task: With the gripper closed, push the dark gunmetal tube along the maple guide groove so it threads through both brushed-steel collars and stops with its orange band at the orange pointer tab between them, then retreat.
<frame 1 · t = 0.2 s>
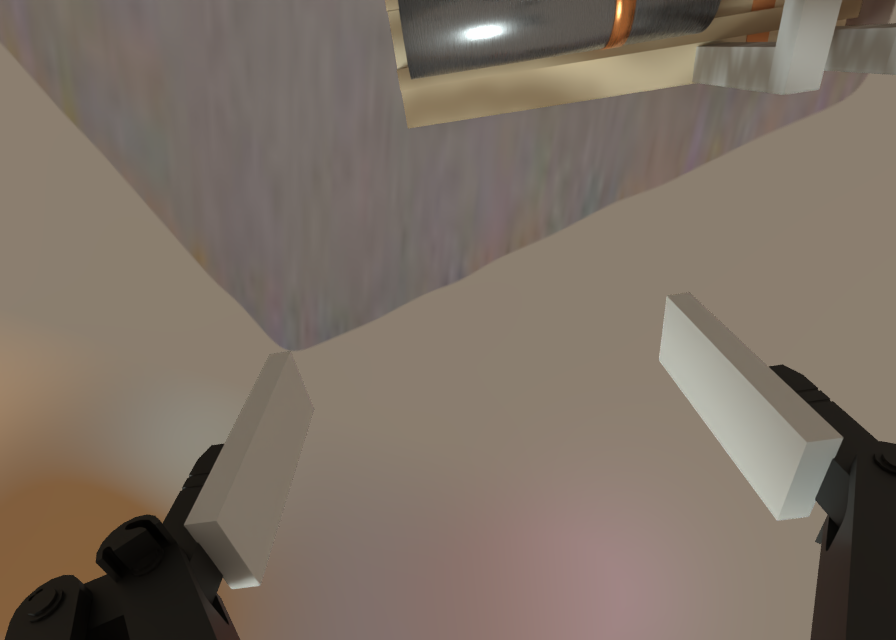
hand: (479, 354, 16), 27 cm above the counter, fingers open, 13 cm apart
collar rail: (616, 4, 33), on the counter
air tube: (543, 16, 32), point 2 cm above the counter, touching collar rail
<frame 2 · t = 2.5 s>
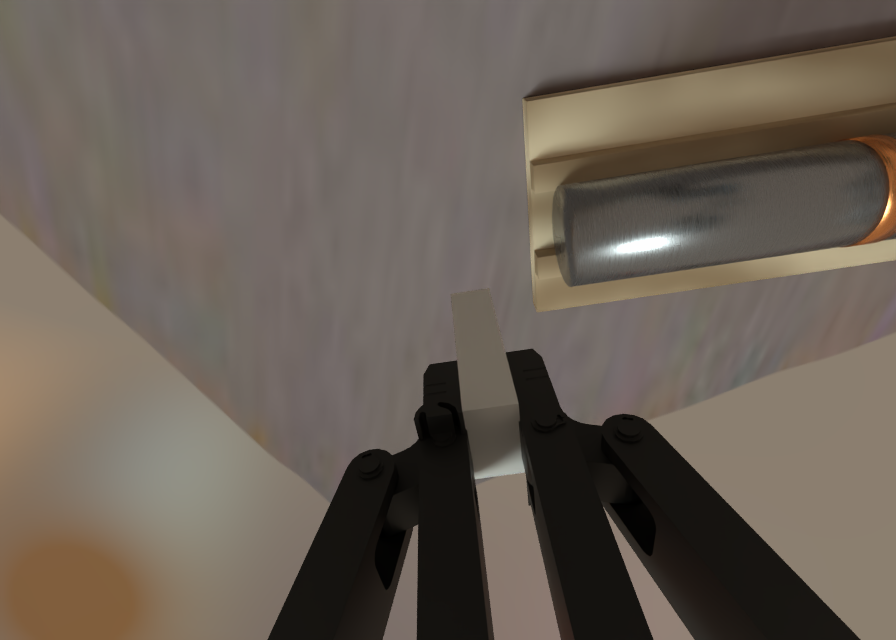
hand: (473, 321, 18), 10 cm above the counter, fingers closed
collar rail: (828, 166, 25), on the counter
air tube: (739, 190, 24), point 2 cm above the counter, touching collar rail
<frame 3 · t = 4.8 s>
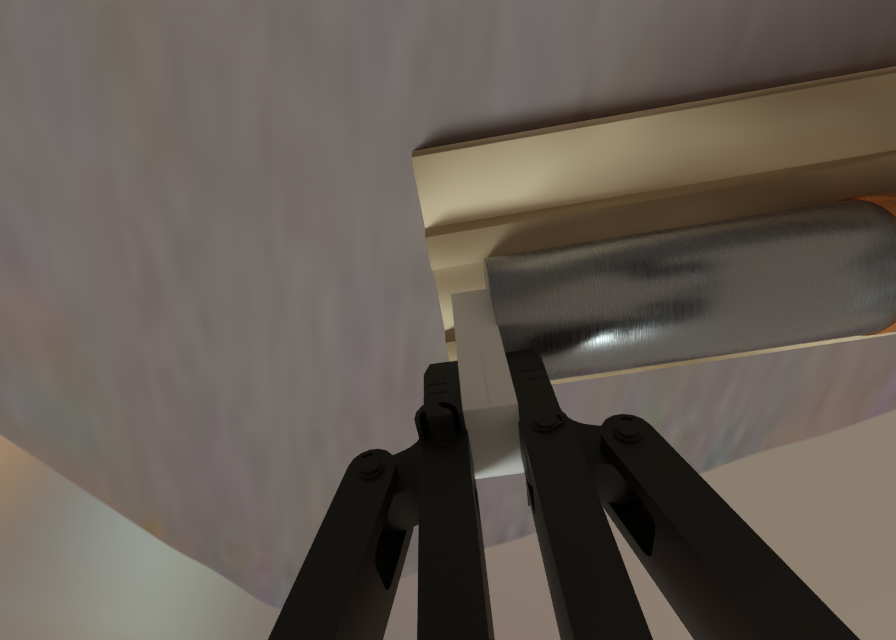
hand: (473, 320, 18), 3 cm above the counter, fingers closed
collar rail: (808, 225, 20), on the counter
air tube: (720, 255, 19), point 2 cm above the counter, touching gripper
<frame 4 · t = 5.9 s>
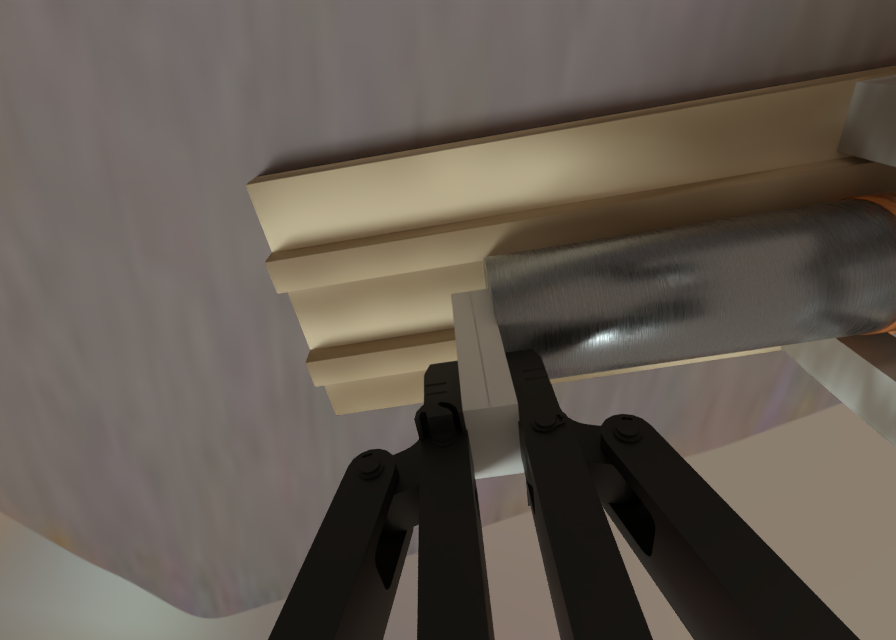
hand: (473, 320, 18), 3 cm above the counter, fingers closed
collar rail: (663, 247, 20), on the counter
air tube: (720, 253, 19), point 2 cm above the counter, touching gripper
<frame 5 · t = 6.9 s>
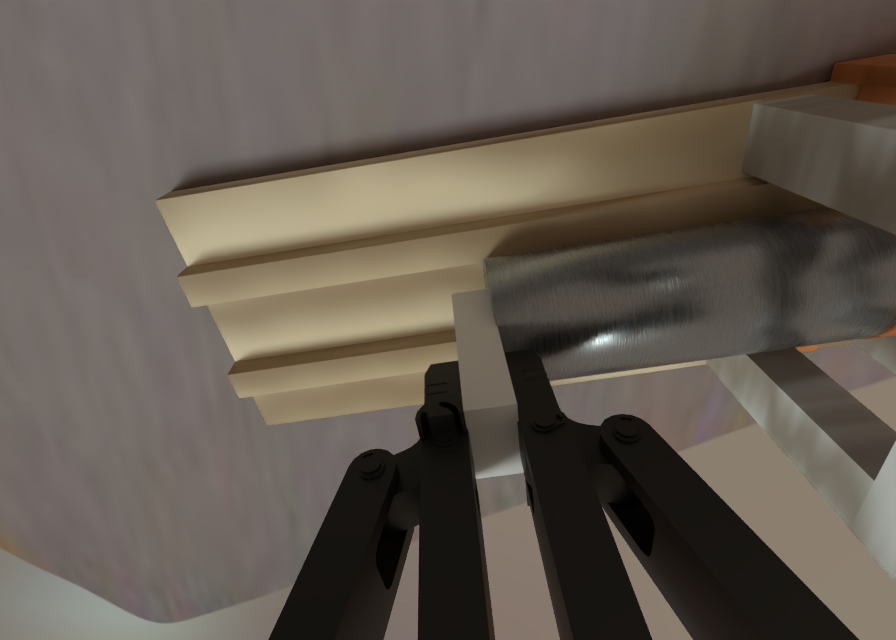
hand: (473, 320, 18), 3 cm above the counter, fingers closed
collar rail: (583, 262, 21), on the counter
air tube: (720, 256, 19), point 1 cm above the counter, touching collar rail, gripper
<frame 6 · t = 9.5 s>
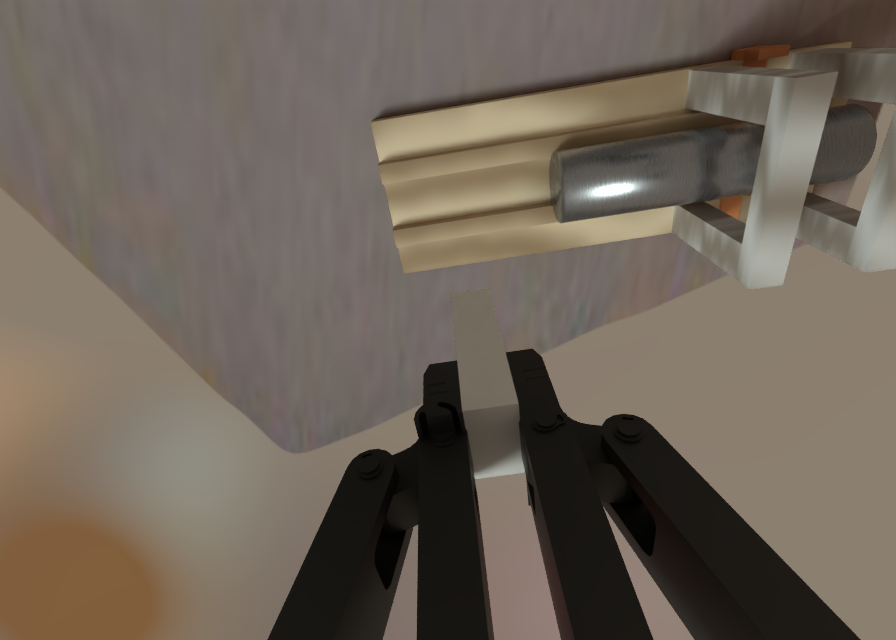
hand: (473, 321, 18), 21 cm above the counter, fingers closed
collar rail: (598, 166, 36), on the counter
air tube: (681, 158, 34), point 1 cm above the counter, touching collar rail
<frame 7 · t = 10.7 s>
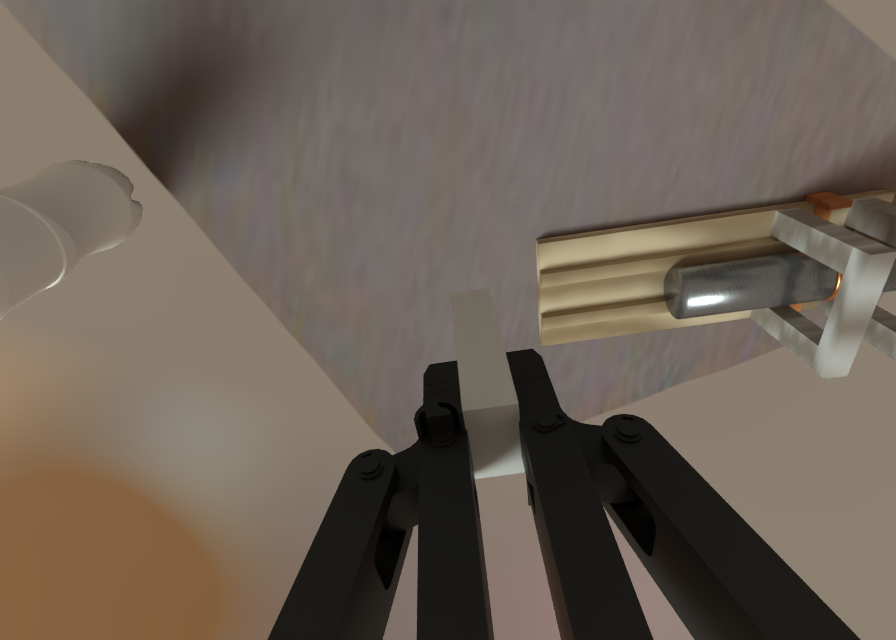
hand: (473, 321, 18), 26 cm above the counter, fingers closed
water bottle: (110, 195, 41), on the counter
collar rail: (698, 270, 47), on the counter
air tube: (764, 268, 45), point 1 cm above the counter, touching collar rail
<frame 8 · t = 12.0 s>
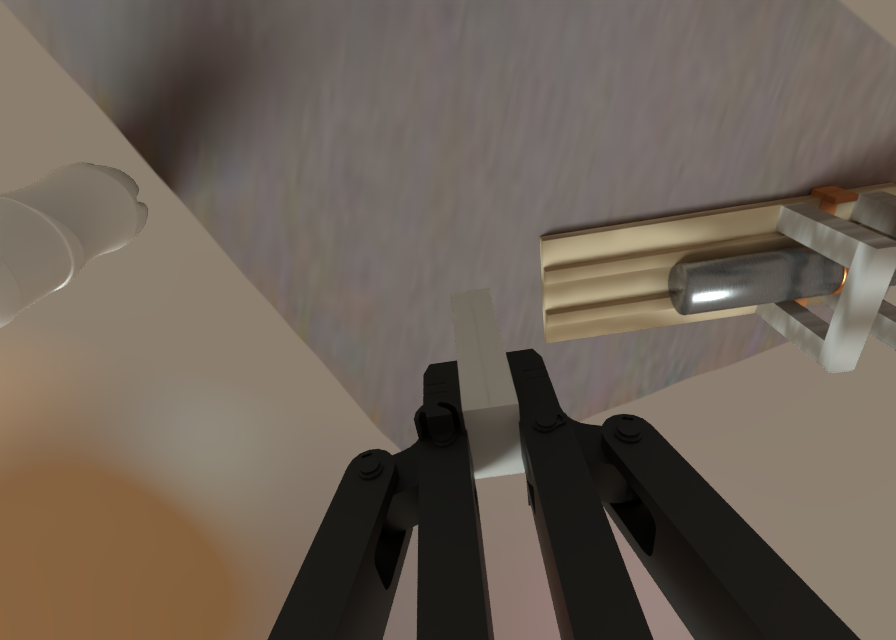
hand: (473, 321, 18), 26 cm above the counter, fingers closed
water bottle: (116, 197, 41), on the counter
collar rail: (703, 266, 47), on the counter
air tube: (769, 263, 45), point 1 cm above the counter, touching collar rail
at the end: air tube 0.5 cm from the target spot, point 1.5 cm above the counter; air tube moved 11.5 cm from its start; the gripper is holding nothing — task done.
